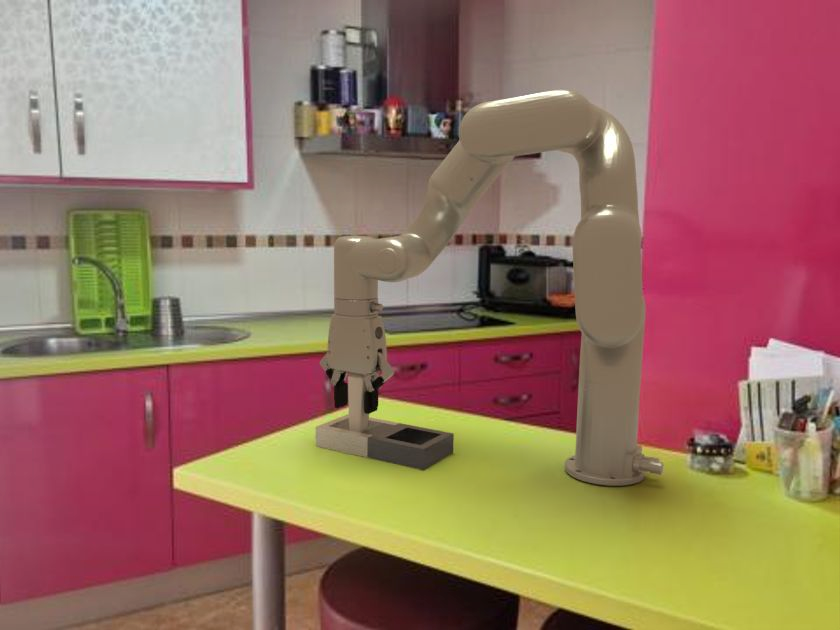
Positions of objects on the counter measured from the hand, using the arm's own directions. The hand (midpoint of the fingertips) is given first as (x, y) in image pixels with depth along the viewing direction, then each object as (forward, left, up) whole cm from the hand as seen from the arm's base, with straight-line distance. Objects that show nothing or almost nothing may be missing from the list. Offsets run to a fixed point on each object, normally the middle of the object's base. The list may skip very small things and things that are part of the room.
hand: (355, 408), depth 136 cm
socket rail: (-6, 0, -6) cm, 9 cm away
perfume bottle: (0, 0, -7) cm, 7 cm away
